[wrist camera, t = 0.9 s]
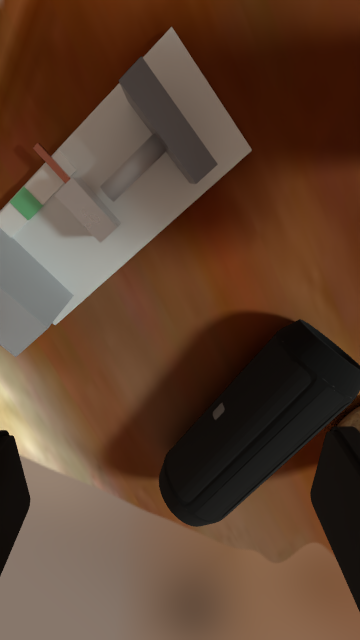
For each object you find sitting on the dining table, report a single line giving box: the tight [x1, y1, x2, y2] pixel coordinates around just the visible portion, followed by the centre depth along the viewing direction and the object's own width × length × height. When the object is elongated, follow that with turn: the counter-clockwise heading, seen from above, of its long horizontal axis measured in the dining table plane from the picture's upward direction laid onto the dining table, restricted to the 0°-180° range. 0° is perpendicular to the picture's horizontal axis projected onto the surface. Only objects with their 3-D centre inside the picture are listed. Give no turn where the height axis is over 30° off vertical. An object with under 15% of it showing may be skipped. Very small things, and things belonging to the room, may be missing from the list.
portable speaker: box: [159, 319, 360, 527], centre depth 36 cm, size 26×10×10 cm, turn 144°
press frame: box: [0, 27, 252, 357], centre depth 26 cm, size 26×11×9 cm, turn 130°
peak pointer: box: [33, 143, 121, 243], centre depth 26 cm, size 2×9×3 cm, turn 40°
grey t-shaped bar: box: [100, 56, 218, 202], centre depth 25 cm, size 8×8×6 cm
